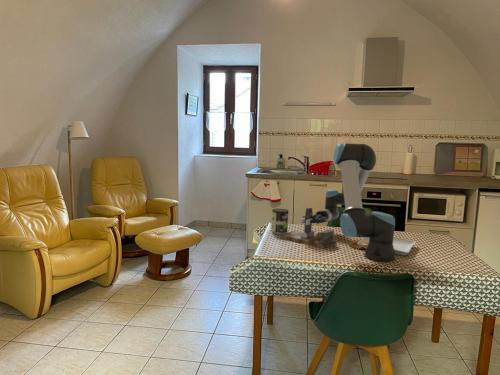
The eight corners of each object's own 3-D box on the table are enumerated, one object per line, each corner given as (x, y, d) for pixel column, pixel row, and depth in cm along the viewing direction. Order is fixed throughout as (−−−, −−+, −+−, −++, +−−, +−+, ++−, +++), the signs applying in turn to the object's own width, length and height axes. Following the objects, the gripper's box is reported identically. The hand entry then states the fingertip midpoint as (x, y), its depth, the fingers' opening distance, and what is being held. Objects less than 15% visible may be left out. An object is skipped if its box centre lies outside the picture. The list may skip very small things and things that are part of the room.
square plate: (368, 238, 241) (369, 232, 240) (416, 247, 227) (416, 240, 226) (356, 249, 218) (356, 242, 217) (408, 259, 204) (408, 251, 203)
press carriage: (314, 236, 231) (316, 207, 229) (306, 238, 224) (308, 209, 222) (308, 234, 234) (310, 206, 231) (300, 237, 227) (302, 208, 224)
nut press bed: (335, 243, 226) (336, 229, 225) (323, 248, 215) (324, 234, 214) (293, 234, 243) (294, 221, 242) (281, 238, 232) (282, 224, 231)
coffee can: (290, 232, 247) (291, 210, 245) (281, 234, 239) (282, 212, 237) (277, 229, 254) (278, 207, 252) (267, 231, 245) (268, 209, 244)
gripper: (334, 224, 237) (315, 231, 219) (311, 219, 247) (291, 225, 229) (335, 212, 236) (316, 217, 218) (312, 208, 246) (292, 213, 228)
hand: (303, 221), depth 223 cm, fingers closed on press carriage, 3 cm apart
